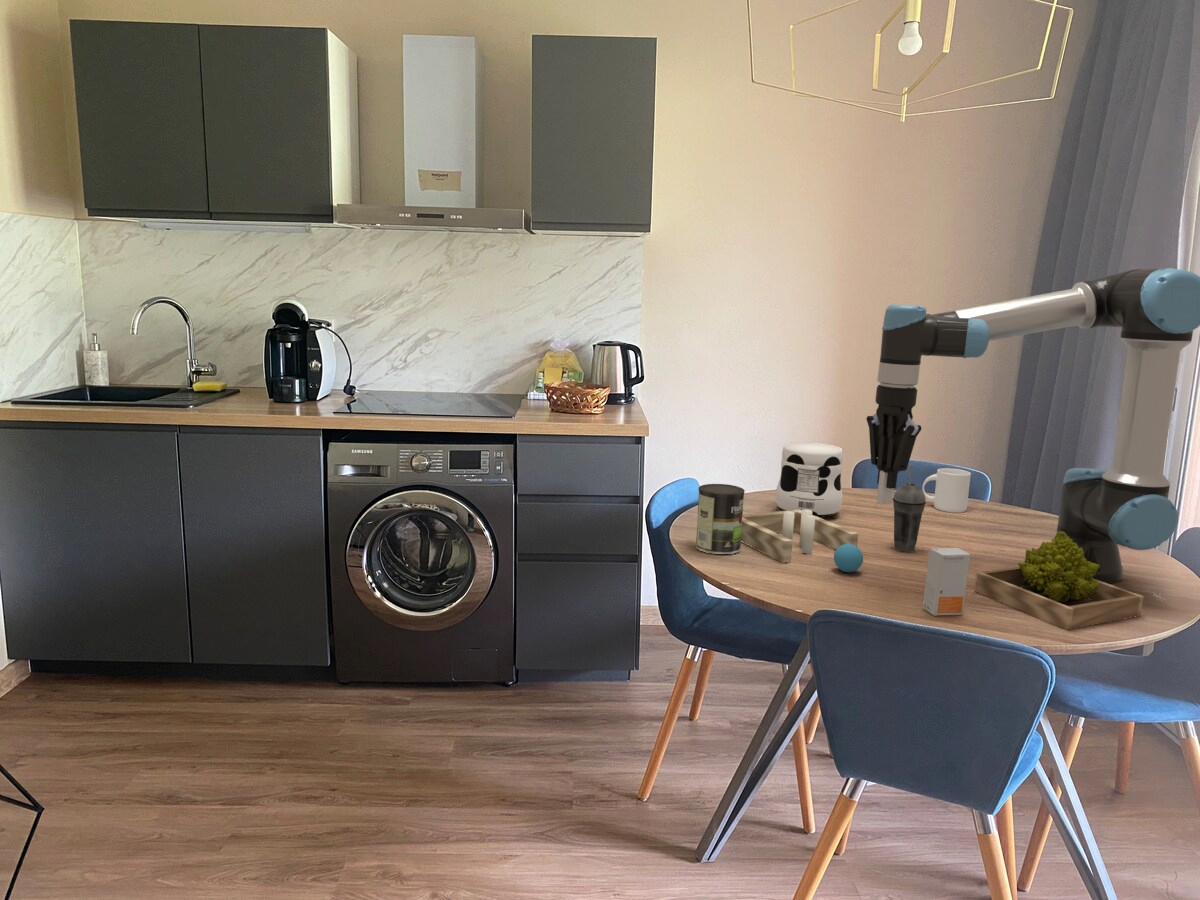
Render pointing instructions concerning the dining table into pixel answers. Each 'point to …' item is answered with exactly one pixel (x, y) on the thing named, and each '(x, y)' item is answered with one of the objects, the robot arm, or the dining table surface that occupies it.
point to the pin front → (808, 534)
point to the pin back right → (804, 512)
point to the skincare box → (946, 581)
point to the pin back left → (788, 524)
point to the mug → (950, 489)
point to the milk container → (810, 478)
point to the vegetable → (1059, 570)
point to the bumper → (766, 525)
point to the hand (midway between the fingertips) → (884, 502)
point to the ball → (848, 558)
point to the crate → (1106, 608)
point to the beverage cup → (907, 515)
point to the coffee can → (719, 518)
